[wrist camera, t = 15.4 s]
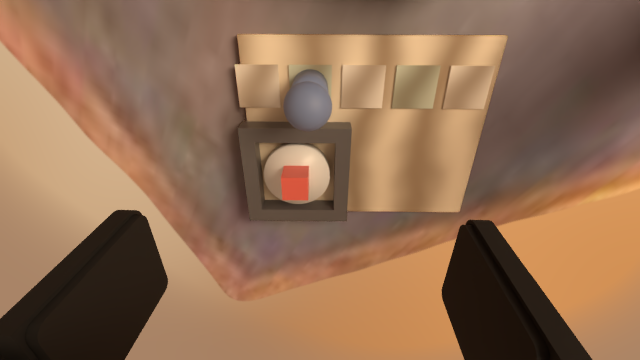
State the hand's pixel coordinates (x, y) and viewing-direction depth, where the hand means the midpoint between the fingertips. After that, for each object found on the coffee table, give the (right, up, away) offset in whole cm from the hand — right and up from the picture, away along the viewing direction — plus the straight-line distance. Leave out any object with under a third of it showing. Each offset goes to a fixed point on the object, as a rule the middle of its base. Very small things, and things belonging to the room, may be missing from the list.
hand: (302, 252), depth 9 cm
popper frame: (-2, +3, +25) cm, 25 cm away
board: (+5, +7, +23) cm, 25 cm away
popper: (-2, +4, +25) cm, 26 cm away
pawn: (0, +11, +20) cm, 23 cm away
